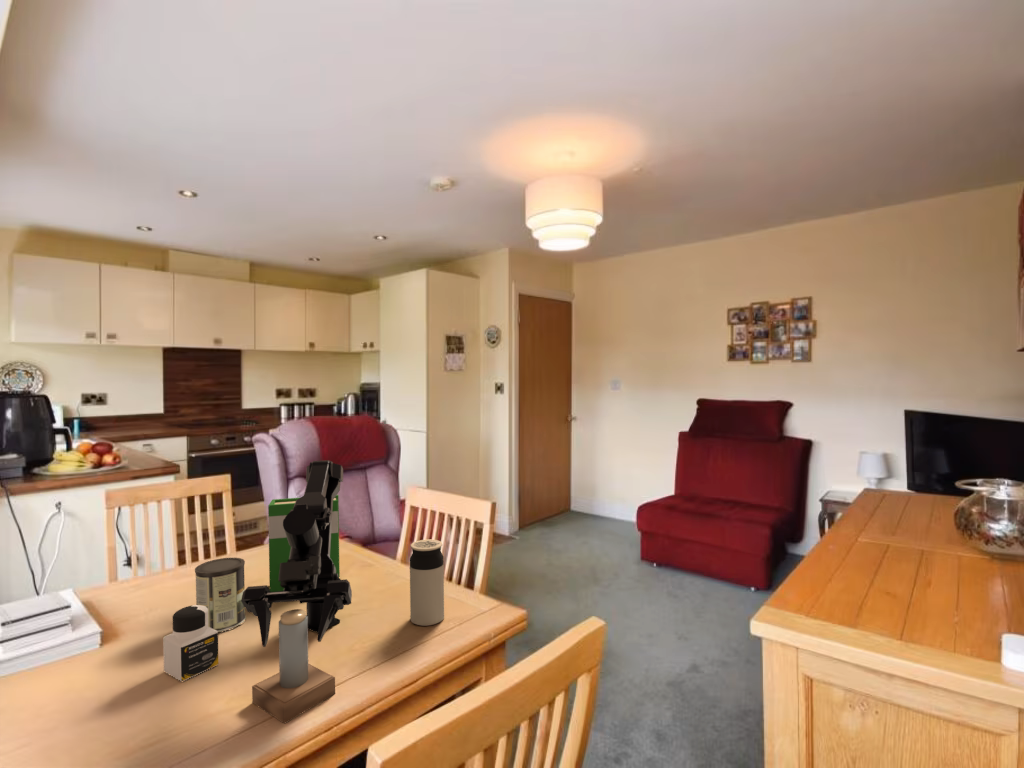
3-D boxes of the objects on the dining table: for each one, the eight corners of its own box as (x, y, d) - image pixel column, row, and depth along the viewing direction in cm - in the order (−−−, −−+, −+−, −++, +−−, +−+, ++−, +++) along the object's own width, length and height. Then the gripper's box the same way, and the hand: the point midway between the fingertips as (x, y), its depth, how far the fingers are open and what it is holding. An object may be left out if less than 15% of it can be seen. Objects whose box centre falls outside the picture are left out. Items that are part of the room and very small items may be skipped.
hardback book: (339, 576, 152) (338, 494, 152) (338, 586, 145) (337, 500, 145) (273, 584, 147) (272, 499, 147) (269, 594, 140) (268, 505, 140)
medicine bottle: (181, 683, 99) (180, 620, 99) (163, 672, 103) (162, 611, 103) (219, 665, 105) (218, 606, 105) (200, 655, 109) (199, 598, 109)
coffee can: (226, 611, 130) (225, 554, 130) (255, 618, 126) (254, 560, 126) (185, 629, 121) (184, 568, 121) (215, 638, 117) (214, 575, 117)
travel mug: (437, 628, 120) (436, 550, 120) (405, 625, 122) (404, 548, 122) (448, 613, 128) (447, 539, 128) (418, 610, 130) (417, 538, 129)
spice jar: (273, 686, 93) (272, 618, 92) (291, 671, 97) (290, 607, 97) (296, 690, 91) (295, 621, 91) (314, 675, 96) (313, 610, 96)
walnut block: (252, 702, 93) (252, 685, 93) (303, 676, 101) (302, 659, 101) (284, 723, 87) (283, 704, 87) (335, 693, 95) (335, 676, 95)
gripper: (243, 543, 96) (222, 632, 85) (348, 537, 99) (341, 621, 89) (257, 571, 104) (239, 654, 93) (354, 564, 107) (348, 644, 97)
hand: (291, 643), depth 93 cm, fingers open, 9 cm apart
